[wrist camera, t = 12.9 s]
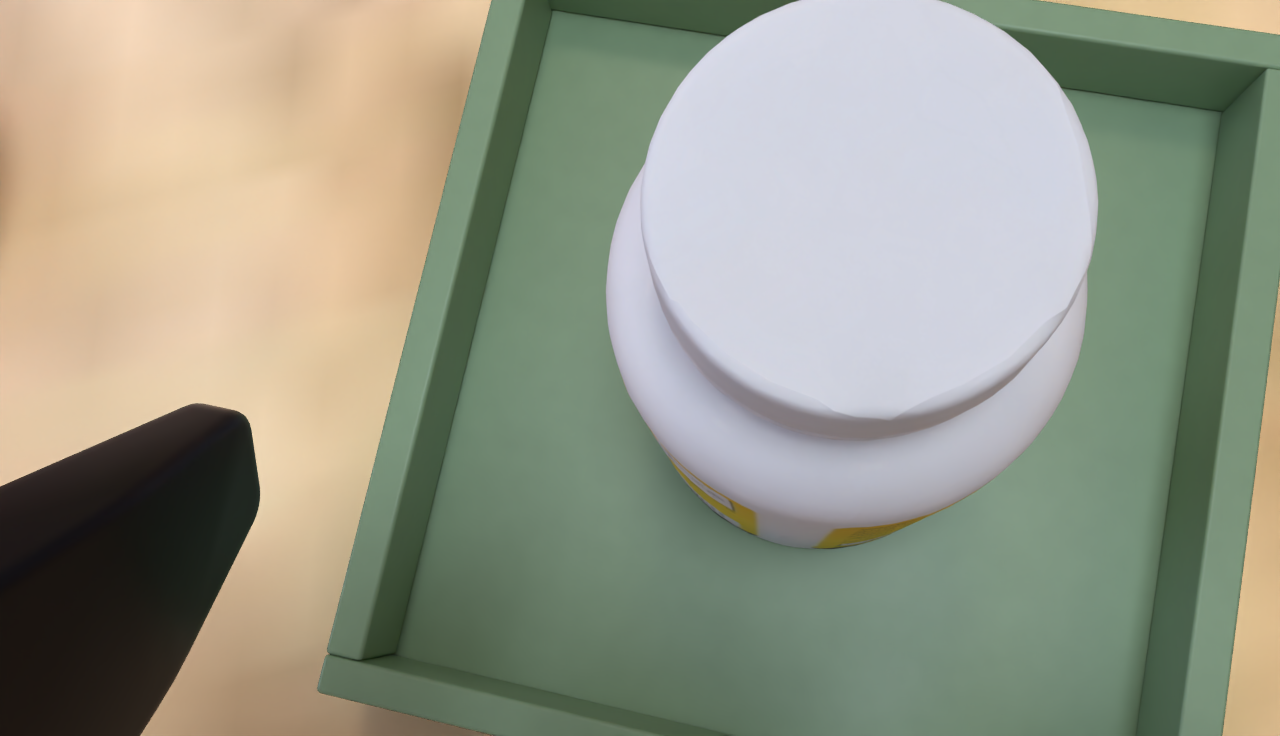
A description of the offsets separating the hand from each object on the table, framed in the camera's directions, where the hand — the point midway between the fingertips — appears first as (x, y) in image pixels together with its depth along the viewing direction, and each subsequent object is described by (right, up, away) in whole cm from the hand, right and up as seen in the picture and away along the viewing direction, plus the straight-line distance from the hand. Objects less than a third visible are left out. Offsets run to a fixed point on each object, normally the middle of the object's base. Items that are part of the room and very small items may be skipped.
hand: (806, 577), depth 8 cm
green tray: (+2, +1, +12) cm, 12 cm away
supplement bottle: (+2, +1, +11) cm, 11 cm away
